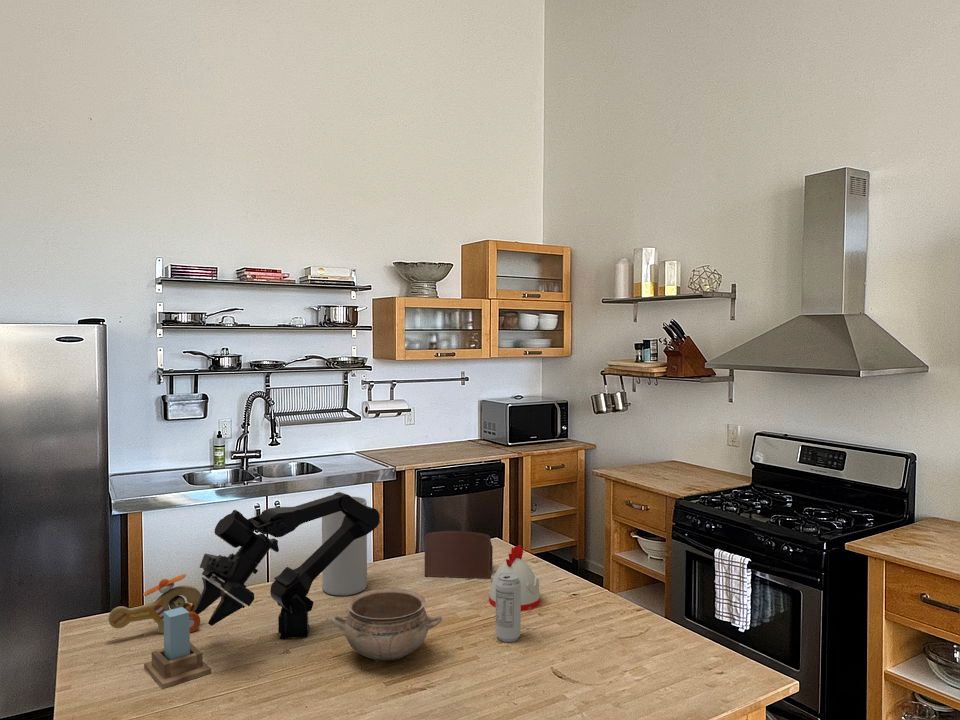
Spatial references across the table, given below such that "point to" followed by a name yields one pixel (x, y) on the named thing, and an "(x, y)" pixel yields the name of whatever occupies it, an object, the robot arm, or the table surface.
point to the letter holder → (458, 555)
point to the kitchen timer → (525, 576)
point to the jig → (176, 667)
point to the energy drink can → (508, 607)
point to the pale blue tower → (176, 633)
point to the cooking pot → (386, 623)
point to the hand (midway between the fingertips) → (202, 618)
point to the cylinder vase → (345, 560)
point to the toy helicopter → (160, 606)
